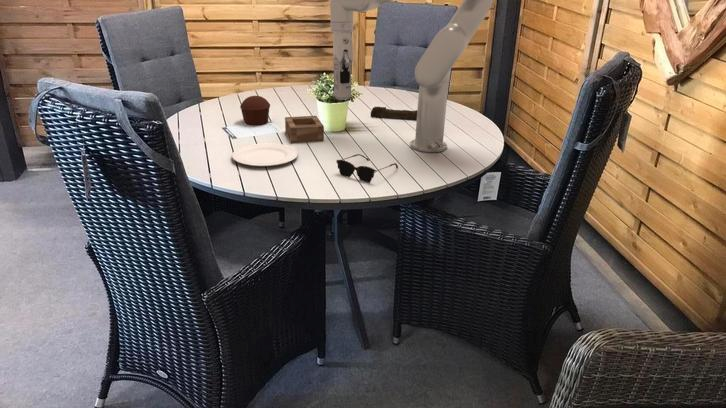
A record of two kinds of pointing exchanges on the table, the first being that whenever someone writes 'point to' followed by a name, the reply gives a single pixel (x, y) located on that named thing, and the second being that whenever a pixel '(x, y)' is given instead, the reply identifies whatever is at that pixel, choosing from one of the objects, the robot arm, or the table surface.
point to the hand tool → (393, 113)
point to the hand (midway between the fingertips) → (342, 80)
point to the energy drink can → (340, 89)
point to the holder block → (304, 129)
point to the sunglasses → (358, 169)
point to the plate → (264, 155)
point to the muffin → (255, 110)
